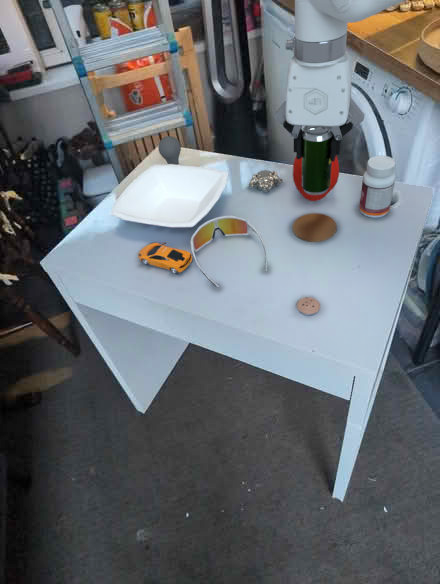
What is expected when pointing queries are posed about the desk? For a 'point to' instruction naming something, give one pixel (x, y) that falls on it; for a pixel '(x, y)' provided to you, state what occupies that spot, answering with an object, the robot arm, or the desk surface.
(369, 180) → the pill bottle
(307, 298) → the cookie
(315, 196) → the apple
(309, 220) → the coaster
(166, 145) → the light bulb
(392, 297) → the desk surface
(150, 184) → the bowl
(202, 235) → the sunglasses
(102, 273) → the desk surface
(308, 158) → the beer can
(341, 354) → the desk surface
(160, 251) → the toy car
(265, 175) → the ornament
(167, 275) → the desk surface
